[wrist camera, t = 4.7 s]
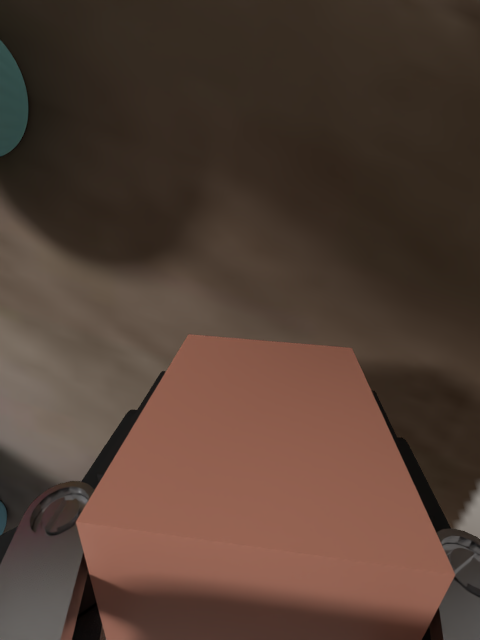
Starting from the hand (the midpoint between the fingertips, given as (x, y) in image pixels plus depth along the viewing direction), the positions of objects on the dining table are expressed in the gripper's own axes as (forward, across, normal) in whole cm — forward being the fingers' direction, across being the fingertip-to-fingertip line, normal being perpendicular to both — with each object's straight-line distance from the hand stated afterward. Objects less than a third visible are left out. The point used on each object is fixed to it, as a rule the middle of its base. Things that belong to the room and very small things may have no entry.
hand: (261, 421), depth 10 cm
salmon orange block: (+1, 0, 0) cm, 1 cm away
